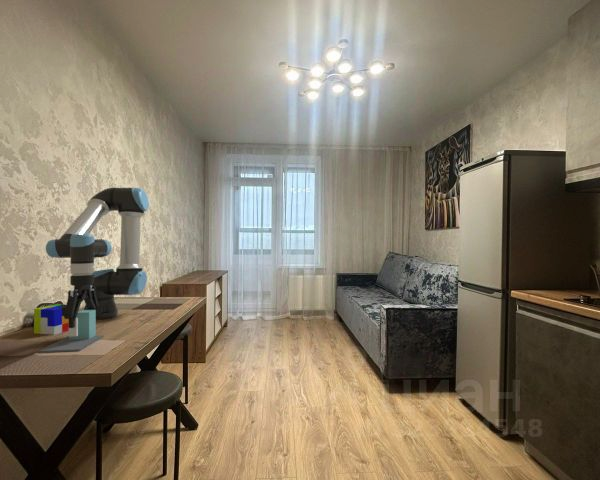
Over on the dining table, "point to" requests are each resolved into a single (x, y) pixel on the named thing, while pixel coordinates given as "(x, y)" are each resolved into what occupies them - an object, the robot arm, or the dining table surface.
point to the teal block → (85, 324)
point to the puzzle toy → (50, 320)
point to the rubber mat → (70, 345)
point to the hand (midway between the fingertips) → (82, 331)
